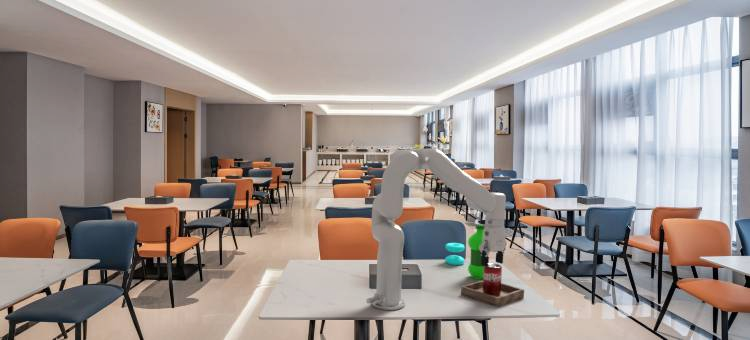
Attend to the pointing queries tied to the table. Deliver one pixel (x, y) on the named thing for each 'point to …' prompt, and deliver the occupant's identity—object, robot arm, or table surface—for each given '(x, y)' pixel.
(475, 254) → the plastic bottle
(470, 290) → the walnut tray
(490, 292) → the soda can
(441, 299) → the table surface
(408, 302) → the table surface
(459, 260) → the donuts
